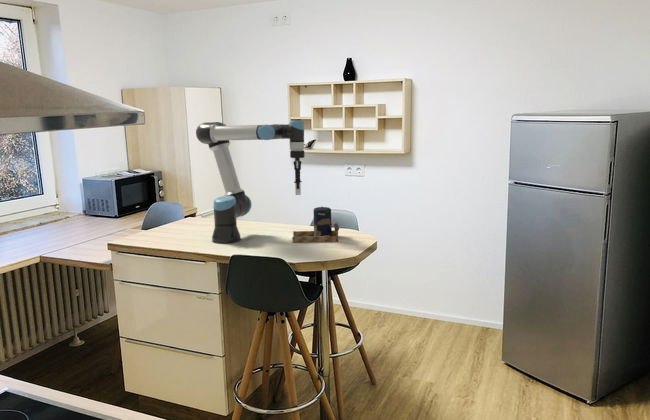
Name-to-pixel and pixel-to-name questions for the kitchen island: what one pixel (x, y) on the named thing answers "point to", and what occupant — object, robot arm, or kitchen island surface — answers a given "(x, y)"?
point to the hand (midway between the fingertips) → (298, 194)
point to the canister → (322, 221)
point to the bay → (310, 238)
